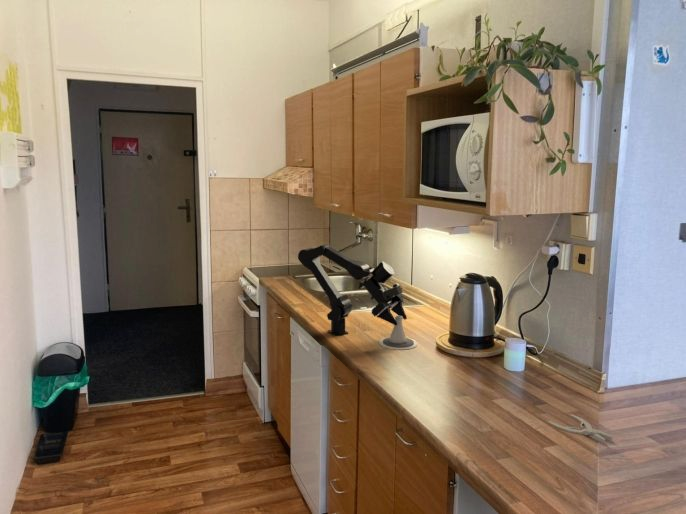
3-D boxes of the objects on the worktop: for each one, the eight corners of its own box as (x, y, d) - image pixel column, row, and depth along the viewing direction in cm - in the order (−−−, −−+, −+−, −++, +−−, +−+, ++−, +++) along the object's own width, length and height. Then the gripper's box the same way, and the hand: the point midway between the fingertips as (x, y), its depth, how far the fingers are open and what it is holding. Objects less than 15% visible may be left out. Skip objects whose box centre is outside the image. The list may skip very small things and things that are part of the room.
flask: (410, 343, 216) (410, 318, 214) (392, 344, 214) (393, 319, 212) (403, 338, 223) (404, 313, 221) (386, 339, 221) (386, 314, 219)
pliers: (572, 411, 157) (621, 433, 144) (572, 416, 158) (620, 439, 145) (547, 418, 153) (595, 442, 140) (547, 423, 153) (595, 448, 140)
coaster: (371, 340, 221) (371, 338, 221) (402, 335, 229) (402, 333, 228) (393, 352, 208) (393, 350, 208) (425, 346, 216) (425, 344, 216)
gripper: (379, 282, 208) (406, 315, 205) (399, 273, 224) (424, 304, 221) (360, 300, 213) (386, 332, 210) (381, 290, 229) (405, 320, 226)
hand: (401, 321), depth 217 cm, fingers open, 9 cm apart
